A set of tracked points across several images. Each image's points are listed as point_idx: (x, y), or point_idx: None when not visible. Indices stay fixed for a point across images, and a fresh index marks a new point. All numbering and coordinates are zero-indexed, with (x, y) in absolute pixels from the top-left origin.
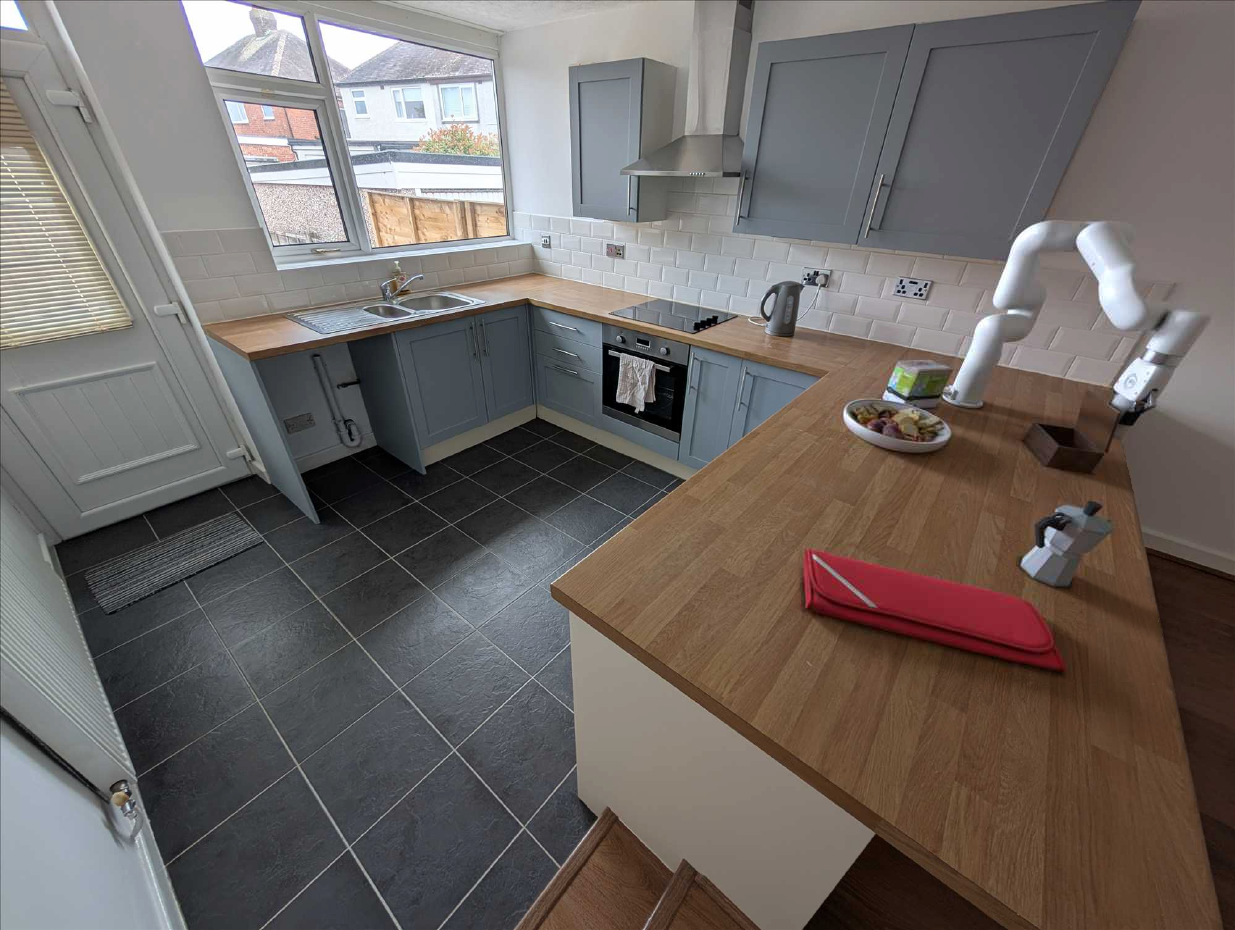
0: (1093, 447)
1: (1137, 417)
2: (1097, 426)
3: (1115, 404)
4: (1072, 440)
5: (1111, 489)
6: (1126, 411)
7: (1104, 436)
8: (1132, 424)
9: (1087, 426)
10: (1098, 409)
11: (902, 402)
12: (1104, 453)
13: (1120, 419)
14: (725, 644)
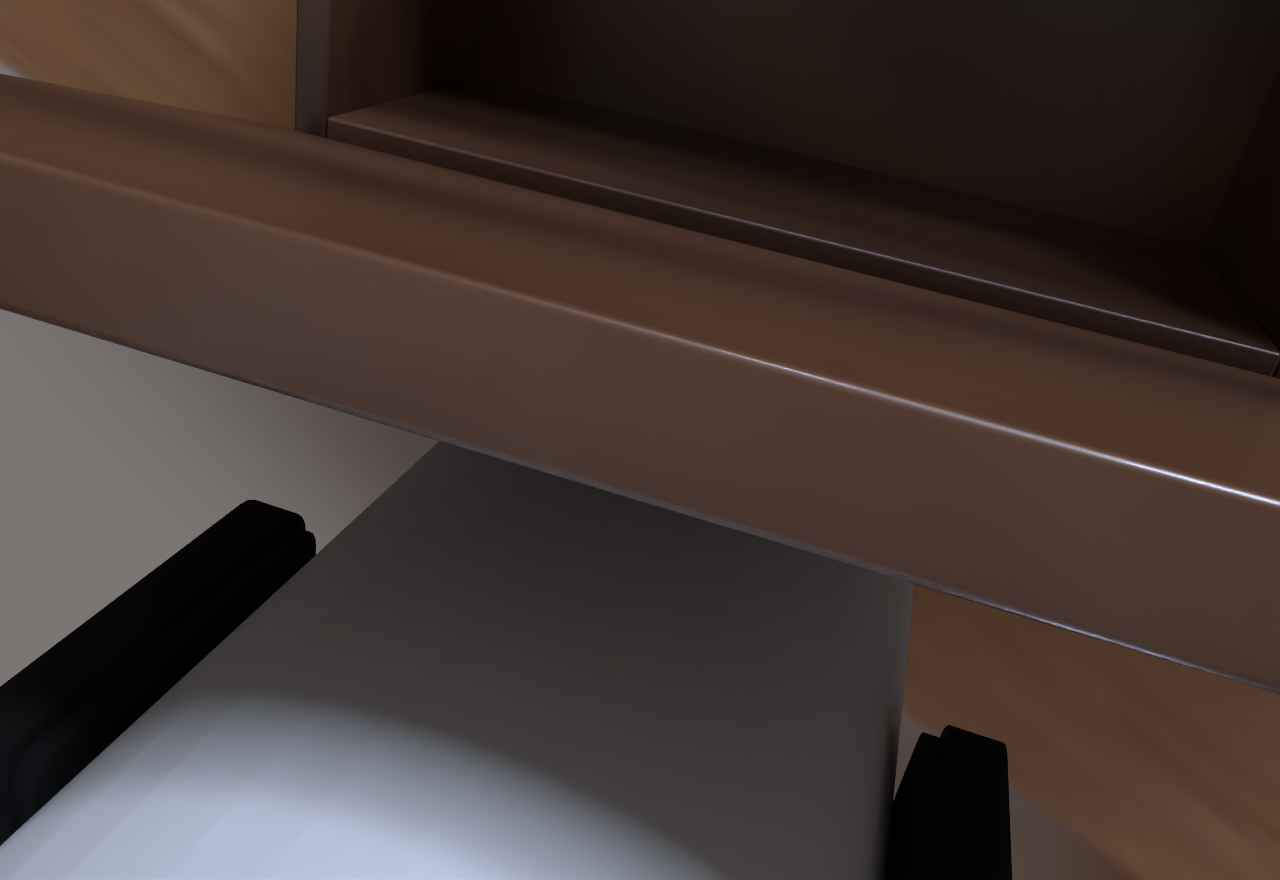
0: (543, 163)
1: None
2: (542, 210)
3: (292, 759)
4: (1094, 258)
5: (166, 78)
6: (6, 733)
7: (255, 130)
8: None
9: (924, 297)
10: (592, 257)
11: None
12: None
13: (224, 558)
14: None
